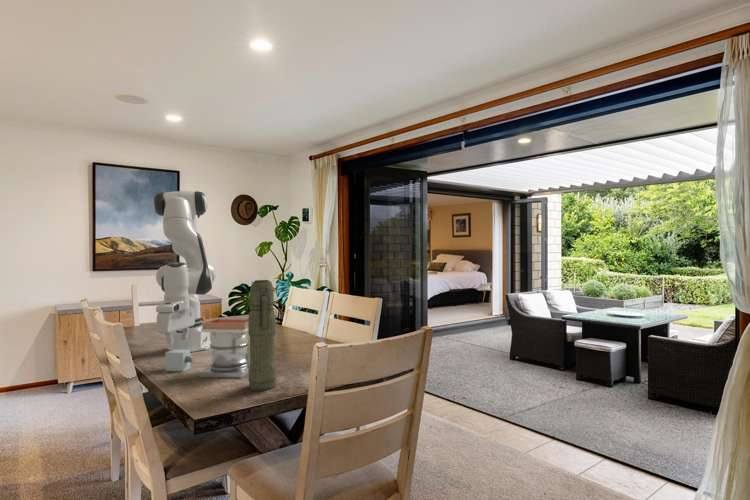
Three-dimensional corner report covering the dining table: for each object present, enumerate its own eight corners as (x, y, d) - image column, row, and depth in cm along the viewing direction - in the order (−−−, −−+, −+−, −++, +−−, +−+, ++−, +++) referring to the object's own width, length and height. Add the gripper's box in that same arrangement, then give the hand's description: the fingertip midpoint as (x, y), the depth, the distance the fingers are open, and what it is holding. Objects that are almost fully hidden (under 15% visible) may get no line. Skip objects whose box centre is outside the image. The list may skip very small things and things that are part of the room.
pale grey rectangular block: (173, 367, 172) (172, 349, 172) (195, 367, 171) (194, 349, 171) (165, 371, 167) (165, 352, 167) (188, 371, 166) (188, 352, 166)
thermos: (254, 393, 140) (253, 282, 140) (244, 384, 150) (243, 280, 150) (281, 389, 144) (280, 281, 144) (270, 380, 154) (269, 279, 154)
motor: (219, 365, 175) (218, 317, 175) (258, 365, 173) (258, 318, 173) (198, 376, 159) (198, 324, 159) (241, 377, 157) (241, 325, 157)
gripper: (183, 302, 180) (184, 336, 179) (152, 308, 159) (153, 347, 159) (198, 302, 179) (199, 336, 179) (169, 307, 159) (170, 346, 158)
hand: (177, 341), depth 169 cm, fingers open, 8 cm apart
